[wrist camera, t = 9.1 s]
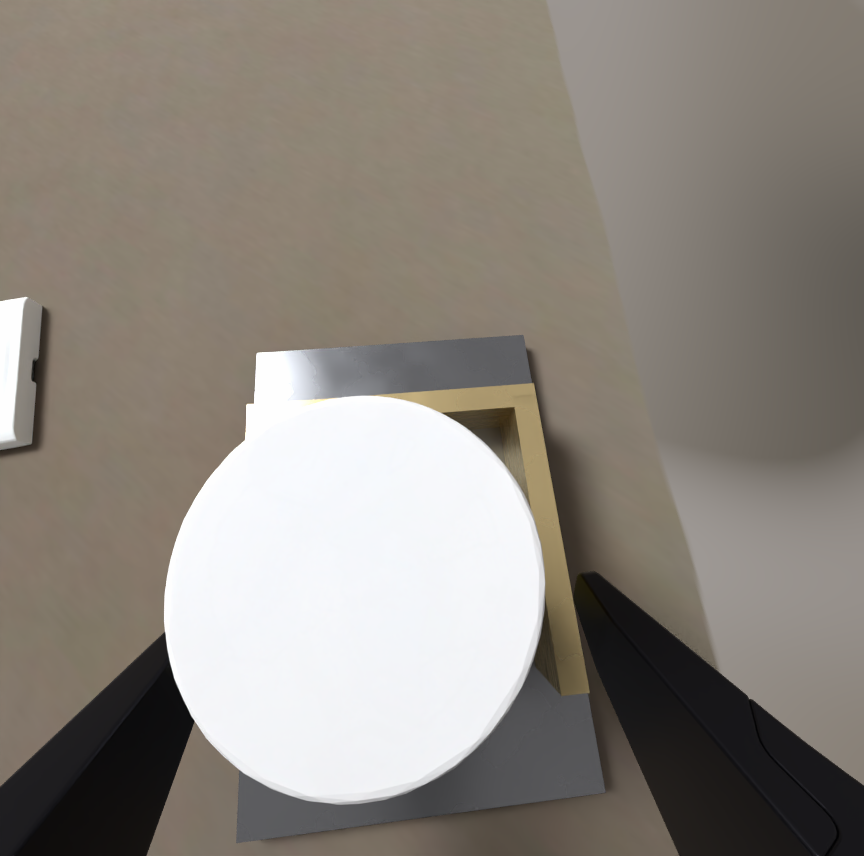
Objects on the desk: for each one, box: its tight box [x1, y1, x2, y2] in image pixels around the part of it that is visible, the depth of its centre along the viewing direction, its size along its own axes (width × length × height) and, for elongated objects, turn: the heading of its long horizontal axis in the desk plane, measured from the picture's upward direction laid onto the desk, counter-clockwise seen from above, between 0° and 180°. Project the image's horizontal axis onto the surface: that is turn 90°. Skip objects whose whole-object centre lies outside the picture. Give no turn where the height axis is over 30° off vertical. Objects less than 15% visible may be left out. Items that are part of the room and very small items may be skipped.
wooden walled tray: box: [236, 335, 606, 843], centre depth 16 cm, size 20×14×4 cm
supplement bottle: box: [164, 396, 545, 805], centre depth 11 cm, size 7×7×13 cm
